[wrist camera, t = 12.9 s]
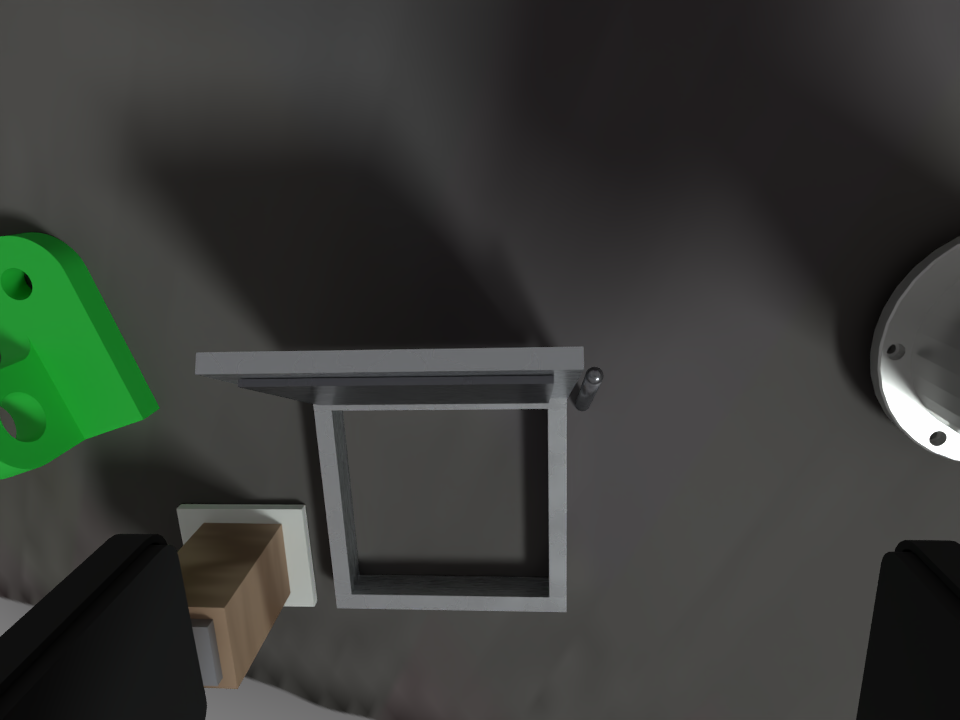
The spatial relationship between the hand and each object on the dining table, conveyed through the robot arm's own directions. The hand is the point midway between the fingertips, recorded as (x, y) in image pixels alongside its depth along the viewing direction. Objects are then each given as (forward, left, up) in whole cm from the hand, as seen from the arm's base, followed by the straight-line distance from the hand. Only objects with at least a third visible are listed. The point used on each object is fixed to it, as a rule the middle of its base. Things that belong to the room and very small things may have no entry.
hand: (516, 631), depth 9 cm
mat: (+18, +18, -28) cm, 38 cm away
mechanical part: (+27, +3, -29) cm, 40 cm away
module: (+18, +18, -28) cm, 37 cm away
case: (+5, +13, -28) cm, 32 cm away
